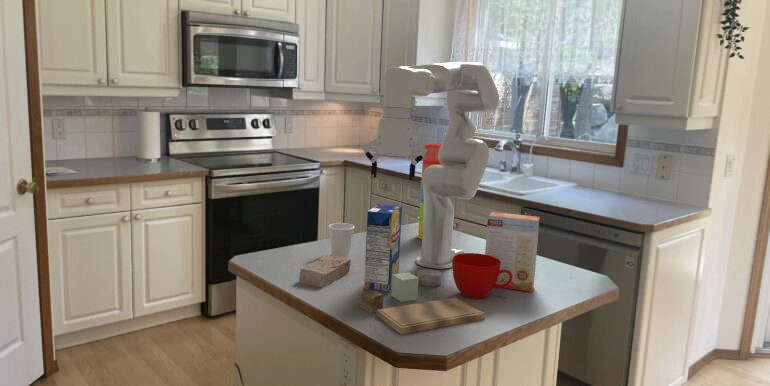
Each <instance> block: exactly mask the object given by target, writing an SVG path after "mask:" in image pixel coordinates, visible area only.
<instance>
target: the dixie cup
mask: <svg viewBox="0 0 770 386" xmlns="http://www.w3.org/2000/svg"><path fill="white" fill-rule="evenodd" d="M328 228H329V229H328V230H329V238H330V239H329V240H330V248H331V249H330V250H331V256H339V257H346V258H349V257H350V254H351V250H352V249H351V247H352V243H353V242H352V241H353V237H354V236H353V235H354V229H355V225H354V224H351V223H346V222H334V223H331V224H329V225H328Z"/></svg>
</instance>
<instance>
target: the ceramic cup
mask: <svg viewBox="0 0 770 386" xmlns="http://www.w3.org/2000/svg"><path fill="white" fill-rule="evenodd" d="M500 264H501V262H500V260H499V259H497V258H495V257H493V256H489V255H485V253H475V252H472V253H471V252H464V253H463V254H458V255H455V256H454V257H453V260H452V267H451V268H452V278H453V282H454V284H455V286H456V288H457V290H458V291H459V293H461V295H462V296H463V297H466V298H468V299H469V298H470V299H473V300H479V299H484V298H486V297H487V296H488V295H489V294H490V293H491V292H492V291H493V290H494V289H501V288H502V287H505V286H507V285H509V284H510V283H511V281H512V278H513V276H512V273H511V272H510V271H509V270H505V269H504V270H500ZM503 272H505V273H508V274H509V277H510V278H509V281H508V282H507V283H505V284H503V285H496V282H497V280H498V276H499V274H501V273H503ZM502 289H503V288H502Z"/></svg>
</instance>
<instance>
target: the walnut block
mask: <svg viewBox="0 0 770 386" xmlns="http://www.w3.org/2000/svg"><path fill="white" fill-rule="evenodd" d="M383 307H384V293H382V292H379V291H373V290H367V291H365V292H362V293H360V305H359V308H360V310H362V311H365V312H368V313H371V314H373V313H376V310H378V309H384V308H383Z"/></svg>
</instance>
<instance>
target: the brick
mask: <svg viewBox="0 0 770 386" xmlns="http://www.w3.org/2000/svg"><path fill="white" fill-rule="evenodd" d="M350 269H351V259H350V258H349V257H347V258H346V257H339V256H332V255H329V254H326V255H323V256H322V257H320V258H319V259H317V260H315V261H313V262H311V263H308V264H306V265H304V266H303V267H301V268H300V269H299V270H300V271H299V278H298V282H299V283H300V284H304V285H309V286H313V287H317V288H325V287H326V286H328V285H330V284H331V283H333V282H334V281H337V280H339V279H340V278H342V277H343V276H345V275H346V274H348V273H349V272H350Z"/></svg>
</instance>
